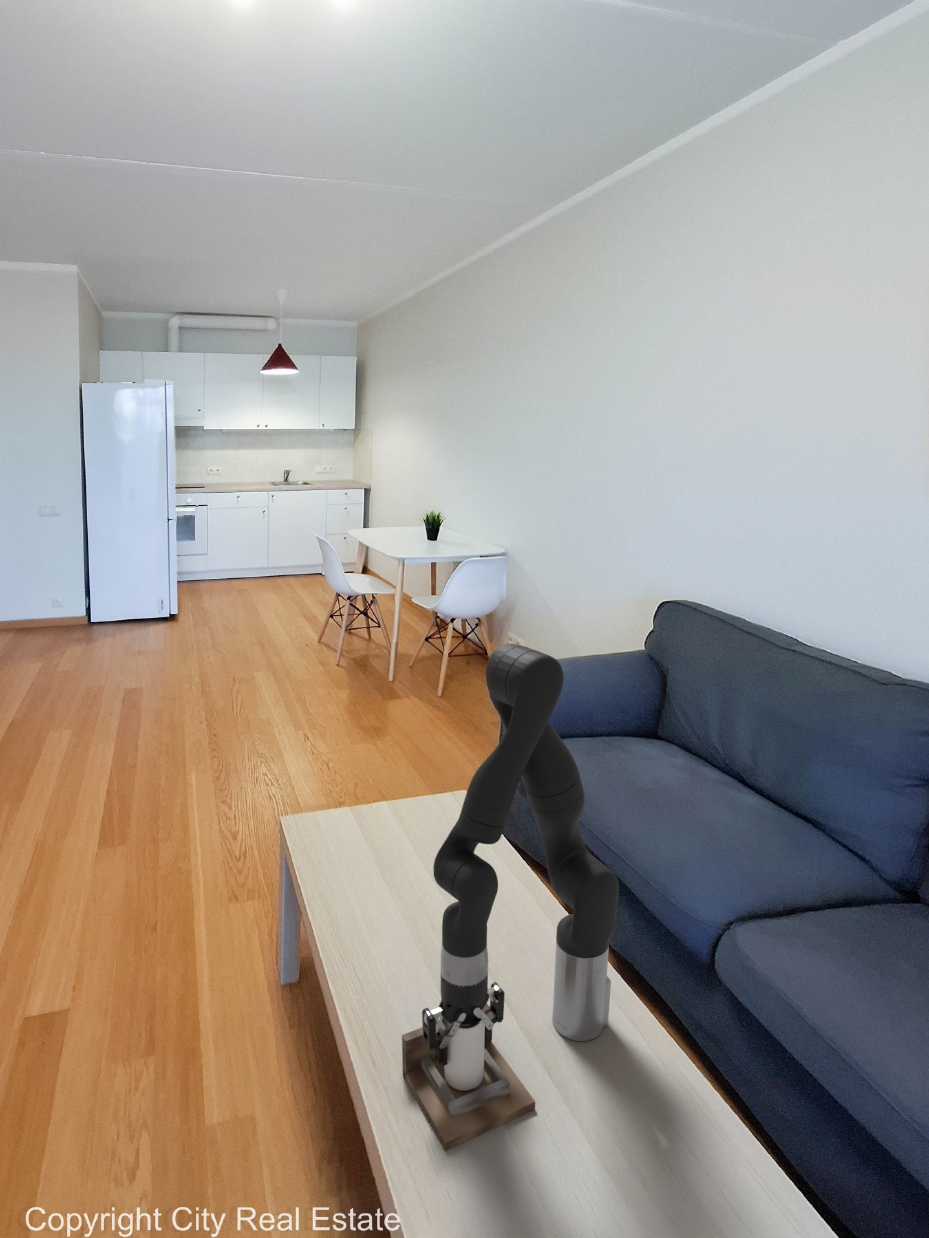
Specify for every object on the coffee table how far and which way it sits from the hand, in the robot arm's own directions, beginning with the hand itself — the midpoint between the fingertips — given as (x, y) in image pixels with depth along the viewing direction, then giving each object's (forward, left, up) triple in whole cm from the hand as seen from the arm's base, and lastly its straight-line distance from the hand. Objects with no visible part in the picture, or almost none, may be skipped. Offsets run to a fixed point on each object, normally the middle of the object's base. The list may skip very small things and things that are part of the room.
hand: (463, 1052), depth 131 cm
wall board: (0, +2, -6) cm, 7 cm away
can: (0, 0, -5) cm, 5 cm away
